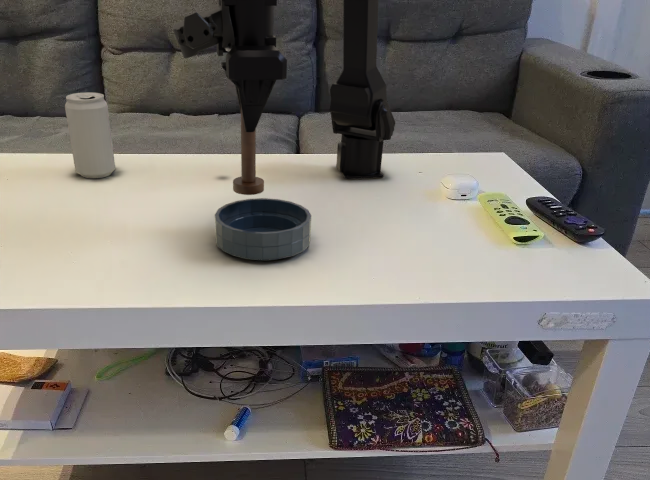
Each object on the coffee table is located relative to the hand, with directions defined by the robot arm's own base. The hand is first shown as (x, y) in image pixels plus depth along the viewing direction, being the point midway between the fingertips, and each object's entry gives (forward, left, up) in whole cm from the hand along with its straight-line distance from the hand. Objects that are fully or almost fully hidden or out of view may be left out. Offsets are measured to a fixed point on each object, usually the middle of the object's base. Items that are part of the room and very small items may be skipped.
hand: (248, 129), depth 82 cm
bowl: (-1, +4, -13) cm, 14 cm away
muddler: (0, 0, -8) cm, 8 cm away
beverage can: (+22, -28, -13) cm, 38 cm away
